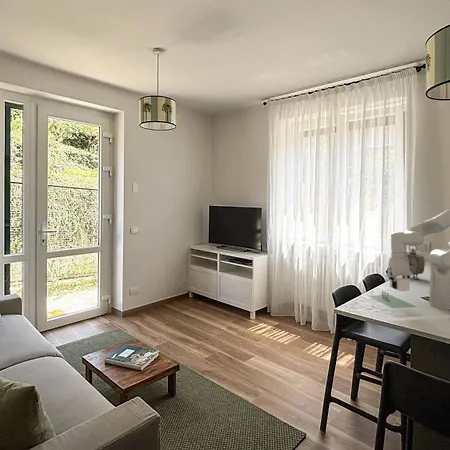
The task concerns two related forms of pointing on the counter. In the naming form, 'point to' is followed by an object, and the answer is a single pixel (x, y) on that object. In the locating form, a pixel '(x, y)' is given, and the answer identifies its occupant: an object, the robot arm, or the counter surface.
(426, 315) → the counter surface
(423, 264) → the tabletop clock
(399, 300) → the header board
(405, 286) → the block
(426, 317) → the counter surface
